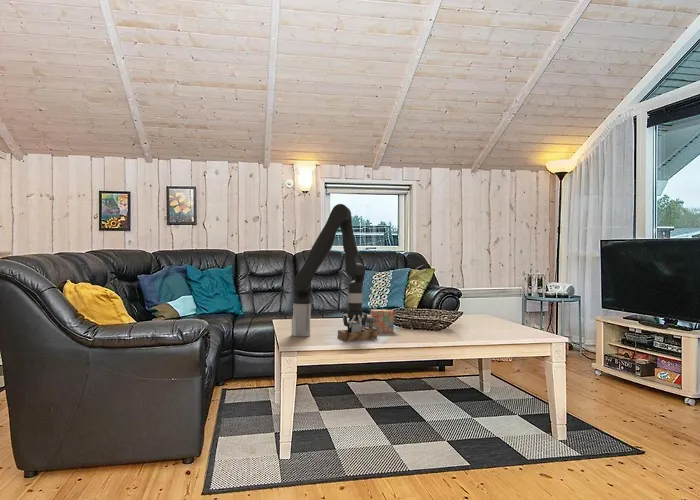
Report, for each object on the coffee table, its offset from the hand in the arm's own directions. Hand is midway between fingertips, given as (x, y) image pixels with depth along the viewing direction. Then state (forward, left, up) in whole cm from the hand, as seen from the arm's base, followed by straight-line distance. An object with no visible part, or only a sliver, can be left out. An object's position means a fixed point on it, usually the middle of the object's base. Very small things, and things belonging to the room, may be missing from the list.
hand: (354, 334), depth 260 cm
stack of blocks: (+21, +16, -3) cm, 27 cm away
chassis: (+2, 0, -2) cm, 3 cm away
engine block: (0, 0, -1) cm, 1 cm away
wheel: (+10, 0, +6) cm, 11 cm away
